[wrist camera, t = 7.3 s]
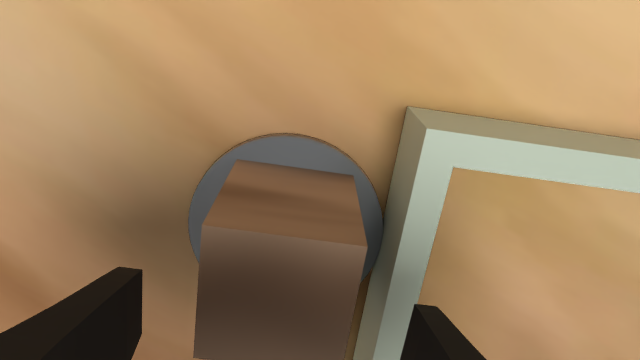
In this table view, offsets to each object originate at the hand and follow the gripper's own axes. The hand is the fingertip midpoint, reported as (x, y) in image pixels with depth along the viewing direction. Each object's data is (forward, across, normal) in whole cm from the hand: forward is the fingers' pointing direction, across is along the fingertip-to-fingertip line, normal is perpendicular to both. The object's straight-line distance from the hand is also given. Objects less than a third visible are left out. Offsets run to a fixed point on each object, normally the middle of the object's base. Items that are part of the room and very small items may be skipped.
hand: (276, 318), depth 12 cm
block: (+5, 0, -1) cm, 5 cm away
